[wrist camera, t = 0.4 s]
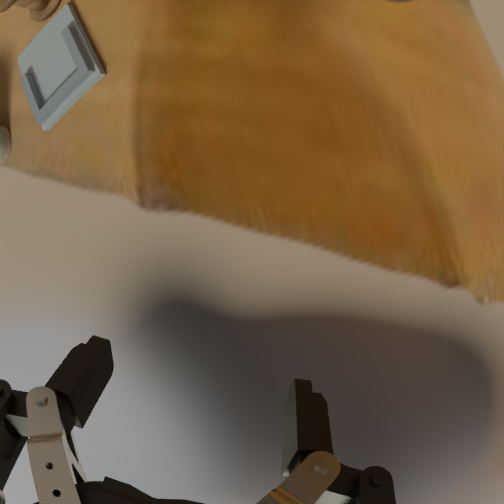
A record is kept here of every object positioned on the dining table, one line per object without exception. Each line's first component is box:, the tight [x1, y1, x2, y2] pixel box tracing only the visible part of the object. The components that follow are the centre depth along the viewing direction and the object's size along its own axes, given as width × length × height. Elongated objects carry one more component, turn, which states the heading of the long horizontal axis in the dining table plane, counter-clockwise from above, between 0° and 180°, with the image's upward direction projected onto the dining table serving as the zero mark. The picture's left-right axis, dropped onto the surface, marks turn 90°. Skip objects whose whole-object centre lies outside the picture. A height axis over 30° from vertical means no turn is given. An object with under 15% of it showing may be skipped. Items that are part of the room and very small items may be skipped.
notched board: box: [17, 4, 106, 131], centre depth 27 cm, size 14×11×2 cm
